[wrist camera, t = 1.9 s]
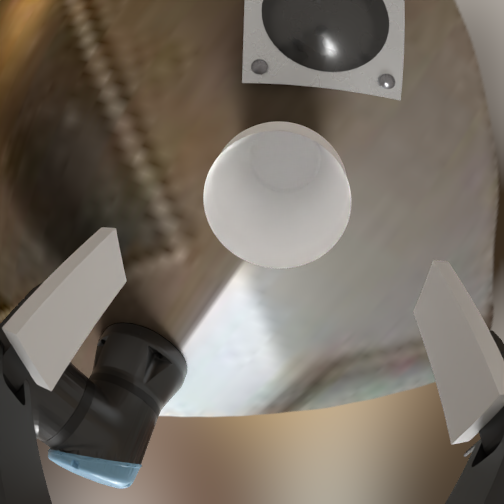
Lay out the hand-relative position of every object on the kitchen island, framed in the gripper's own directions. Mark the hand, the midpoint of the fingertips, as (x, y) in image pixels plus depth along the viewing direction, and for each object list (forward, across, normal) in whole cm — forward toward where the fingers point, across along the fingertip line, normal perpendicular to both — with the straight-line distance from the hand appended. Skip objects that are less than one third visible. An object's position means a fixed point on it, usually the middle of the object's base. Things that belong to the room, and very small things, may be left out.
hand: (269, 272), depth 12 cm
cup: (+19, 0, 0) cm, 19 cm away
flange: (+19, +3, +14) cm, 24 cm away
